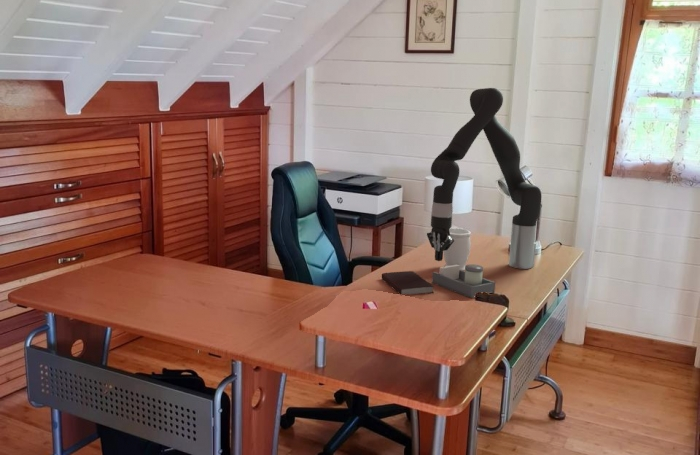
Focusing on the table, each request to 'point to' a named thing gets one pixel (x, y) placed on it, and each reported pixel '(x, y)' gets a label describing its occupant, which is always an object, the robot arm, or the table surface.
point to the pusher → (450, 271)
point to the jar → (458, 248)
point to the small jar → (473, 274)
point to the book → (407, 282)
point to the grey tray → (462, 284)
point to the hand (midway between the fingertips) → (438, 260)
